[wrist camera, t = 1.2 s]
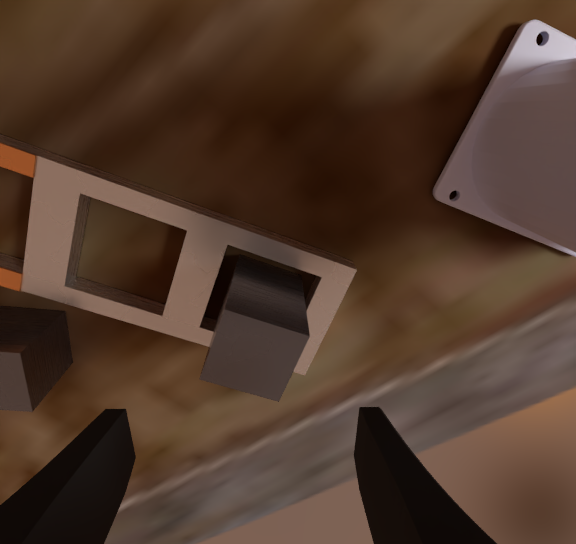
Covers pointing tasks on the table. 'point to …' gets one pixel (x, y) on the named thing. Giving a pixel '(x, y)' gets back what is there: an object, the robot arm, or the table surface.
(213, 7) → the table surface
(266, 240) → the square hole plate
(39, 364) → the grey wood-grain cube
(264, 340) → the dark square post
